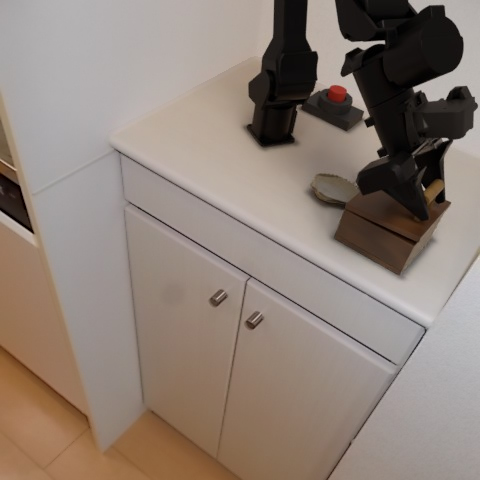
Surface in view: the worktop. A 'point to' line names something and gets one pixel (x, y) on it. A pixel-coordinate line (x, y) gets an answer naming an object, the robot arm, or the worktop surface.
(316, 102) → the button block
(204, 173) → the worktop surface
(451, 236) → the worktop surface
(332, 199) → the seashell
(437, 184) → the lid
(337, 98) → the button
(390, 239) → the chest
